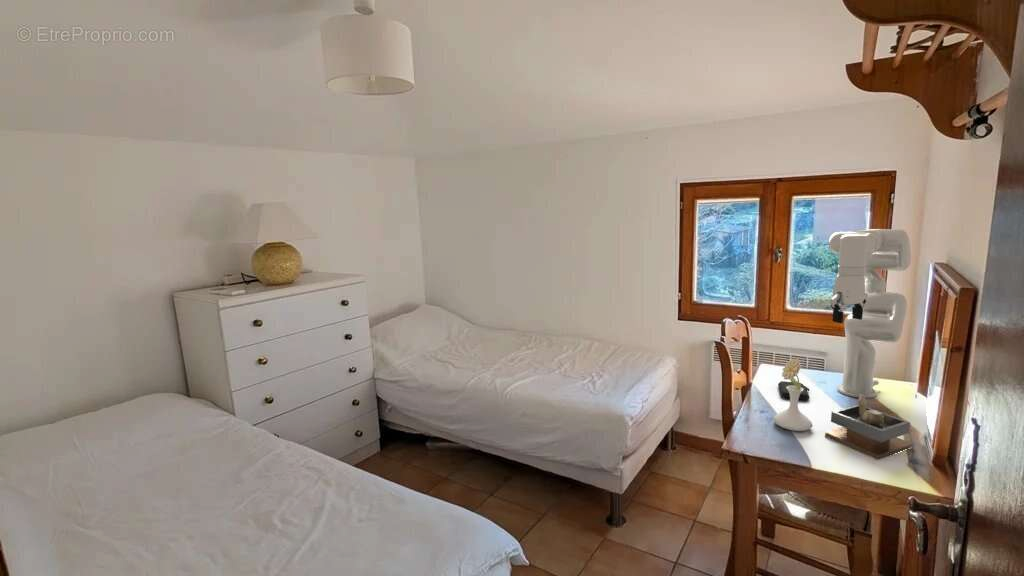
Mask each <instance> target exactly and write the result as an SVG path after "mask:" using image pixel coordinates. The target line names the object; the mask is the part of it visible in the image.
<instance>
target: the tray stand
mask: <svg viewBox="0 0 1024 576" xmlns="http://www.w3.org/2000/svg"><path fill="white" fill-rule="evenodd" d="M866 410H875V409H874V408H871V407H868V406H867V408H866ZM877 411H878V412H879V413H882V415H883V416H884V423H881V424H866V423H865V422H864V421H863V420H862V419H860V414H859V403H858V404H854V405H851V406H847V407H842V408H840V409H836V410H832V411H831V414H830V422H831V423H832V424H834V425H835V424H836V425H838V426H840V427H837V428H835V429H832V430H828V431H825V433H824V434H825V435H824V437H825V438H828V439H830V440H832V441H834V442H837V443H839V444H841V445H843V446H845V447H848V448H849V449H852V450H855V451H857V452H859V453H862V454H863V455H865V456H868V457H870V458H873V459H875V460H876V461H879V460H883V459H884V458H887V457H890V455H891V456H894V455H896V454H895V453H897V454H899V453H898V452H900V451H903V450H905V449H908V448H910V447H912V446H914V443H913V442H910V441H907V440H905V439H902V438H900V437H901V436H905V435H908V434H910V429H911V422H910V421H908V420H905V419H902V418H899V417H897V416H894V415H890V414H887V413H885V412H882V411H880V410H877ZM903 452H904V451H903ZM900 453H901V452H900ZM893 454H894V455H893Z"/></svg>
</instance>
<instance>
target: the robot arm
mask: <svg viewBox="0 0 1024 576" xmlns="http://www.w3.org/2000/svg"><path fill="white" fill-rule="evenodd" d="M828 248H829V250H830V252H831V253H833V254H837V255H838V265H837V275H836V277H835V279H834V282H833V283H834V284H833V289H832V297H831V298H829V303H830V307H831V310H832V322H834V323H839V324H844V334H845V345H844V347H845V348H844V361H843V374H842V383H841V384H839V385H837V387H836V388H837V389H836V390H837V391H838V392H839V393H841V394H843V395H846V396H848V397H852V398H858V399H859V397H860V395H863V397H864V398H865V399H872V398H876V397H877V395H878V392H877V390H875V389H874V387H875V386H879V383H880V382H879V380H877V379H876V380H874V372H875V361H876V349H875V347H874V345H873V344H872V342H871V341H877V342H883V343H897V342H899V340H900V339H901V336H902V333H903V328H904V324H905V319H906V314H907V308H908V301H907V300H908V299H907V298H906V297H905V295H904V294H901V293H899V292H890V291H886V288H887V282H886V280H885V278H884V277H883V276H882V275H881V274H879V273H878V272H877V271H876V270H882V271H896V272H897V271H900V272H901V271H906V270H907V269H908V268H909V267H910V266H911V262H912V252H911V242H910V237H909V234H908V233H907V232H906V231H905V230H904V229H898V228H893V229H892V228H891V229H889V228H886V229H884V228H875V229H873V228H871V229H863V230H862V229H861V230H853V231H852V230H851V231H839V232H838V231H837V232H834V233H833V234H831V236H830V237H829V241H828ZM846 306H852V312H851V314H849V315H847V316H846V317H845V320H844V313H845V312H844V309H845V307H846ZM843 321H844V322H843Z"/></svg>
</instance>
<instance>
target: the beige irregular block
mask: <svg viewBox="0 0 1024 576" xmlns="http://www.w3.org/2000/svg"><path fill="white" fill-rule="evenodd" d="M857 403H858V404H859V414H860V419H862V420H863V421H864V422H865V423H866V424H881V423H884V416H883V415H882V413H883V412H882V413H879V412H878V411H879V410H877V409H874V410H866V408H867V407H868V403H867V398H864V397H863V395H860V397H859V398H858V401H857Z"/></svg>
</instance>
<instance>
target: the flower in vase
mask: <svg viewBox="0 0 1024 576" xmlns="http://www.w3.org/2000/svg"><path fill="white" fill-rule="evenodd" d="M801 367H802V365H801V362H800V360H799V359H798V358H797V359H795V358H791V359H790V360H787V361H786V363H785V365H784V367H783V368H782V371H783V372H782V373H781V377H783V380H786V381H787V380H789V382H792V383H793V384H794V385H796V386H787V387H786V388H787V389H788V391H789V393H790V399H789V407H788V408H787V409H785V410H782V411H781V412H779V413H777V414H775V415H774V417H773V421H774V423H775V424H776V425H777V426H779V427H780V428H782V429H786V430H790V431H793V432H806V431H809V430H811V429H812V428H813V427H814V426H813V422H812V421H811V420H810V419H809V418H808V416H806V414H804V413H803V412H801V411H800V409H799V406H798V405H799V400H798V399H799V395H800V393H801V392H802V391H803V390H804V389H803V388H801V382H800V378H799V375H798V374H800V370H801ZM795 378H796V379H795Z"/></svg>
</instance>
